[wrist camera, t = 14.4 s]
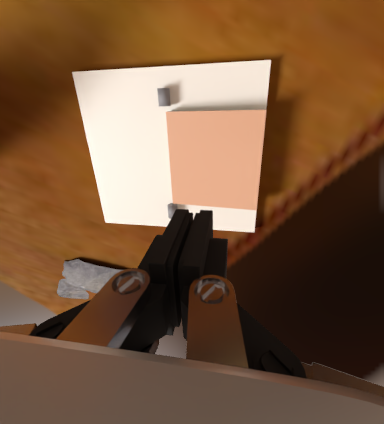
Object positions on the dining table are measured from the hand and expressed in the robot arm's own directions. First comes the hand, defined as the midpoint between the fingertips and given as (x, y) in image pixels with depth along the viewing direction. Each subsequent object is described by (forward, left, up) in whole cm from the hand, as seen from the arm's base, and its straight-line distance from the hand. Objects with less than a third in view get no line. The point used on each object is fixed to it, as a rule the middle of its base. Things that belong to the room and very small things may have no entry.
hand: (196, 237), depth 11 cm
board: (0, -6, -18) cm, 19 cm away
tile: (0, -1, -15) cm, 15 cm away
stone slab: (+22, -19, -18) cm, 35 cm away
